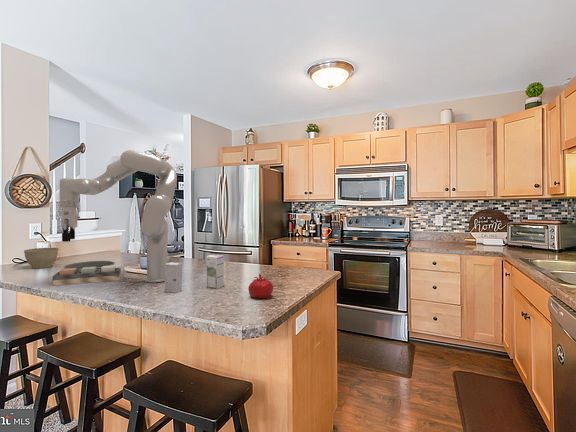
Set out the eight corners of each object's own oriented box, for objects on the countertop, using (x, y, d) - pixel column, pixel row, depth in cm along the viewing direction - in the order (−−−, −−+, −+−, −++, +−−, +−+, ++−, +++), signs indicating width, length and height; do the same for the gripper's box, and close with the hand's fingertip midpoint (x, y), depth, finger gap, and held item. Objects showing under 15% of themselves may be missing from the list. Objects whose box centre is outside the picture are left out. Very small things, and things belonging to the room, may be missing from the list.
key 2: (115, 269, 161) (115, 265, 161) (114, 271, 156) (114, 267, 156) (102, 269, 159) (102, 266, 159) (101, 272, 154) (101, 268, 153)
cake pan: (77, 279, 158) (77, 270, 158) (54, 273, 171) (54, 265, 170) (124, 270, 179) (124, 263, 179) (101, 266, 192) (101, 259, 191)
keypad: (120, 276, 164) (120, 267, 164) (119, 280, 155) (118, 271, 155) (58, 281, 153) (58, 271, 153) (52, 285, 144) (52, 276, 144)
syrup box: (224, 286, 144) (224, 254, 143) (216, 289, 138) (216, 256, 138) (214, 284, 146) (214, 253, 146) (206, 287, 141) (206, 255, 140)
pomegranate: (263, 302, 120) (263, 278, 120) (243, 297, 125) (243, 275, 125) (277, 295, 129) (277, 273, 128) (258, 291, 134) (258, 270, 133)
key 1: (76, 271, 154) (76, 267, 154) (73, 274, 149) (73, 269, 149) (62, 272, 152) (62, 268, 152) (59, 275, 147) (59, 270, 147)
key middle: (96, 270, 157) (96, 266, 157) (94, 272, 152) (94, 268, 152) (83, 271, 155) (83, 267, 155) (80, 273, 150) (80, 269, 150)
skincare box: (164, 291, 134) (163, 263, 133) (171, 289, 138) (170, 262, 138) (176, 293, 132) (175, 264, 132) (182, 290, 136) (182, 262, 136)
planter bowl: (17, 269, 181) (16, 250, 181) (43, 264, 197) (42, 247, 197) (40, 270, 178) (40, 251, 178) (65, 265, 194) (64, 247, 194)
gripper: (74, 204, 143) (74, 242, 143) (81, 204, 158) (81, 238, 159) (54, 204, 139) (54, 242, 140) (64, 204, 155) (63, 238, 156)
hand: (68, 240), depth 149 cm, fingers open, 9 cm apart
